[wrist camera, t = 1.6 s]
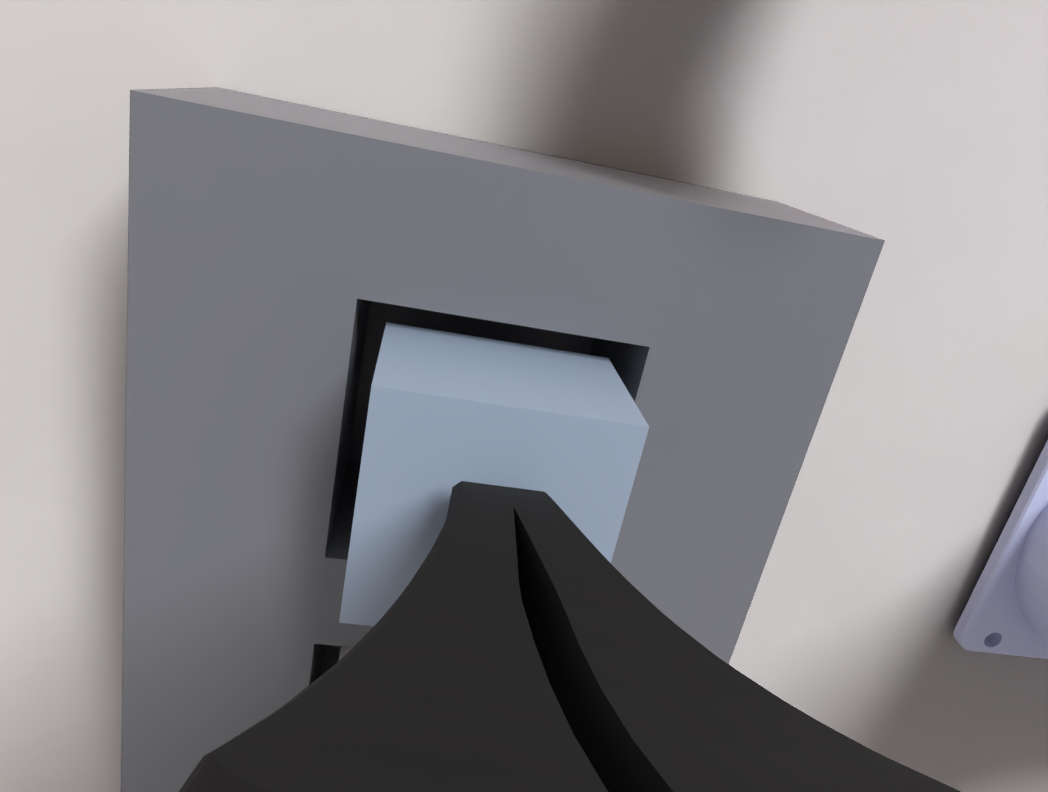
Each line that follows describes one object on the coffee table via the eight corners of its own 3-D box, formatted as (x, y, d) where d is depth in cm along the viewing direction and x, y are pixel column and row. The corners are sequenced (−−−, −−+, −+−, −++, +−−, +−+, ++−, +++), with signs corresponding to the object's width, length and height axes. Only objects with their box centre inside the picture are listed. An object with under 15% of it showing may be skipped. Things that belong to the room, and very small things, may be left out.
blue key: (608, 357, 14) (649, 427, 11) (561, 544, 15) (587, 646, 13) (386, 322, 13) (370, 385, 10) (358, 520, 15) (339, 622, 12)
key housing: (777, 201, 17) (884, 241, 13) (551, 923, 26) (572, 1085, 21) (216, 87, 15) (130, 89, 11) (174, 909, 24) (117, 1086, 19)
